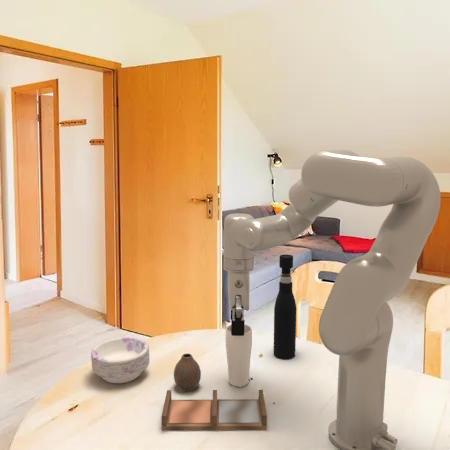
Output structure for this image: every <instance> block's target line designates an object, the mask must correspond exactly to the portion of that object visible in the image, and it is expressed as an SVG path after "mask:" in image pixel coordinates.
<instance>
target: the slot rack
mask: <svg viewBox="0 0 450 450" xmlns="http://www.w3.org/2000/svg"><path fill="white" fill-rule="evenodd" d="M165 393H166V395H165V399H164V404H163V408H162V412H161V431H175V432H176V431H267V430H268V425H267V423H268V414H267V408H266V403H265V402H266V401H265V397H264V396H265V395H264V389H258V398H256V399H255V398H250V399H248V398H247V399H245V398H244V399H243V398H242V399H241V398H239V399H238V398H236V399H235V398H231V399H230V398H229V399H228V398H227V399H222V398H221V399H218V390H217V389H213V390H212V399H173V398H172V390H171V389H168V390H166V392H165Z"/></svg>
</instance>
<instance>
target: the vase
mask: <svg viewBox="0 0 450 450" xmlns="http://www.w3.org/2000/svg"><path fill="white" fill-rule="evenodd" d="M173 369H174V370H173V379H174V384H175V385H176V387H177V388H178V389H180V390H181V391H184V392H191V391H193V390H195V389H196V388H197V387H198V386H199V384H200V381H201V379H202V378H201V377H202V372H201V371H202V370H201V367H200V365H199V363H198V362H197V361H196V360H195V358H194V357H193V355H192V354H191V353H184V354H182V356H181V357H180V359H179V360H178V362H177V363H176V364H175V366H174V368H173Z"/></svg>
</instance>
